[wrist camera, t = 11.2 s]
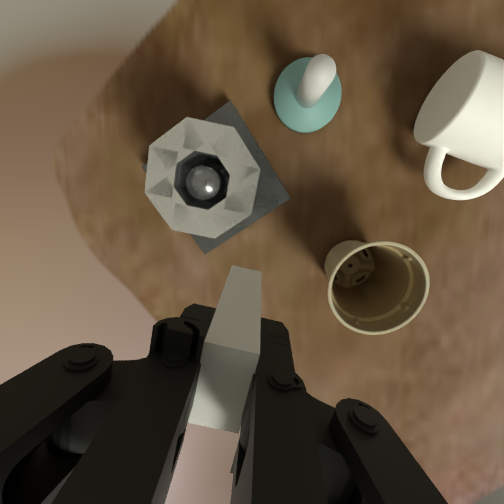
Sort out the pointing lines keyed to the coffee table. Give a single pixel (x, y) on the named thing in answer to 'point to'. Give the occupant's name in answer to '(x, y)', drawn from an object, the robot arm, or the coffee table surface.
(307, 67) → the stand
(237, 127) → the hub
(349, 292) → the flower pot
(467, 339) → the coffee table surface
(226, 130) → the collar
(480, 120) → the mug
